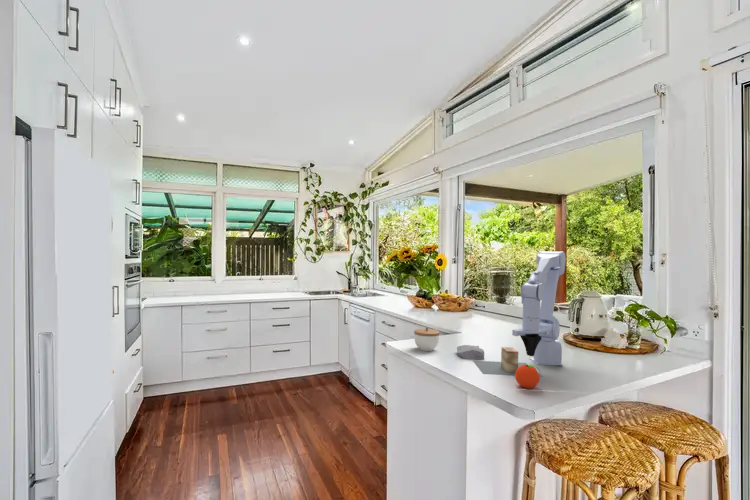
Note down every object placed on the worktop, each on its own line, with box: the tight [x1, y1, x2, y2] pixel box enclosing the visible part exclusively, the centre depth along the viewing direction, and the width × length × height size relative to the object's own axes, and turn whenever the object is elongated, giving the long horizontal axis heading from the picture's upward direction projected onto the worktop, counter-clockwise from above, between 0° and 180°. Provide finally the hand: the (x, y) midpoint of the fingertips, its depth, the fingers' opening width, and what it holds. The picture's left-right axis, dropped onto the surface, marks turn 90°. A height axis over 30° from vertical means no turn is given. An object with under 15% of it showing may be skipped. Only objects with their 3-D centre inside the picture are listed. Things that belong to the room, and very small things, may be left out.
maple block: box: [500, 346, 519, 372], centre depth 131 cm, size 4×6×7 cm, turn 178°
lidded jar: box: [413, 326, 440, 352], centre depth 157 cm, size 11×11×9 cm
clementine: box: [514, 364, 541, 389], centre depth 113 cm, size 8×7×7 cm
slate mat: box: [472, 360, 544, 378], centre depth 132 cm, size 20×16×1 cm
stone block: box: [456, 344, 485, 360], centre depth 148 cm, size 12×5×10 cm
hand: (530, 355), depth 130 cm, fingers closed
